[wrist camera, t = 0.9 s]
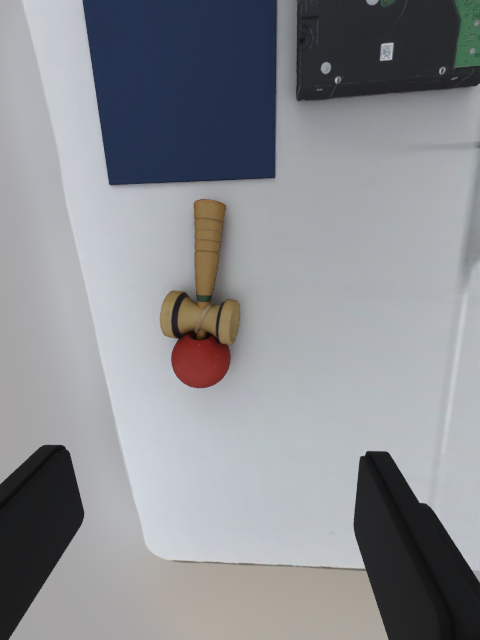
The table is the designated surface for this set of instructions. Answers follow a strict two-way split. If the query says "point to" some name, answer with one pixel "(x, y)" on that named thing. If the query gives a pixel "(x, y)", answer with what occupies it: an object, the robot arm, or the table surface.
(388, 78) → the disk drive
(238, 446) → the table surface
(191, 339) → the kendama
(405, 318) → the table surface
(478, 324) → the table surface
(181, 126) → the napkin
